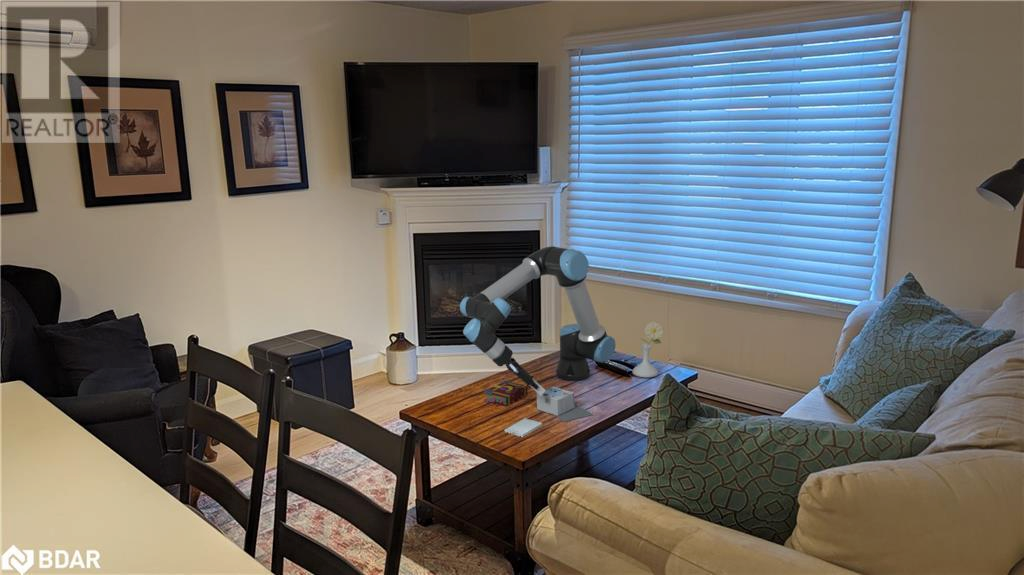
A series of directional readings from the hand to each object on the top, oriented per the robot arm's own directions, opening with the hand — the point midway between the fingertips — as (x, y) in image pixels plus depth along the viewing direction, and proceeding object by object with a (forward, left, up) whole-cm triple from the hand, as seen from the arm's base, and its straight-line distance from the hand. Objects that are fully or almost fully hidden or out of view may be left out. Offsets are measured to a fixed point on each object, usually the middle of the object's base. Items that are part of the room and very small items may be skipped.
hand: (542, 392), depth 260 cm
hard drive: (+11, +5, -11) cm, 16 cm away
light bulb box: (-3, -2, -7) cm, 8 cm away
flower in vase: (-64, -16, -10) cm, 67 cm away
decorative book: (+3, -24, -11) cm, 27 cm away
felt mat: (-11, 0, -10) cm, 15 cm away
